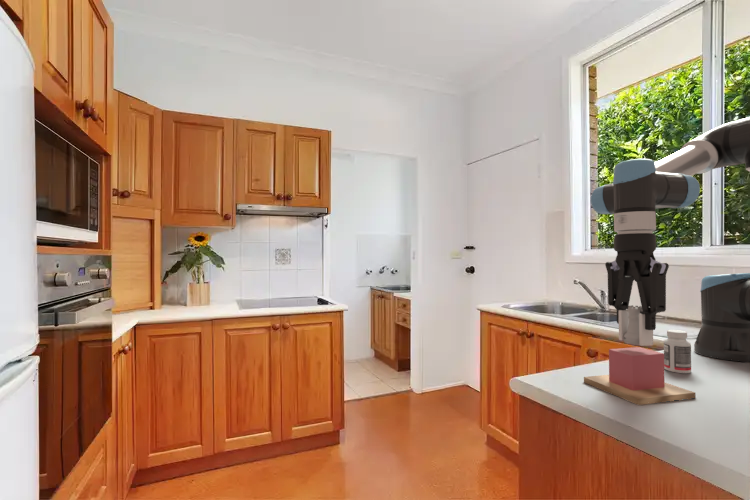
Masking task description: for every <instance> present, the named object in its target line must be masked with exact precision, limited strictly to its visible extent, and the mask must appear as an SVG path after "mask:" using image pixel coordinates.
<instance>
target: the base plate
mask: <svg viewBox="0 0 750 500" xmlns="http://www.w3.org/2000/svg"><path fill="white" fill-rule="evenodd" d="M583 383H584V384H587V385H590V386H592V387H594V388H597V389H599V390H602V391H604V392H606V393H608V394H610V395H613V396H616V397H618V398H620V399H623V400H625V401H627V402H629V403H632V404H635V405H637V406H642V405H650V404H657V403H659V404H660V402H661V403H667V402H666V401H670V402H675V401H674V400H679V401H683V400H682V399H688V400H692V399H691V398H697V397H696V392H695V391H692V390H689V389H685V388H682V387H679V386H677V385H674V384H671V383H669V382H665V387H663V388H653V389H643V390H630V389H628V388H625V387H622V386H620V385H617V384H615V383H612V382H609V374H601V375H591V376H584V377H583Z"/></svg>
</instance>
